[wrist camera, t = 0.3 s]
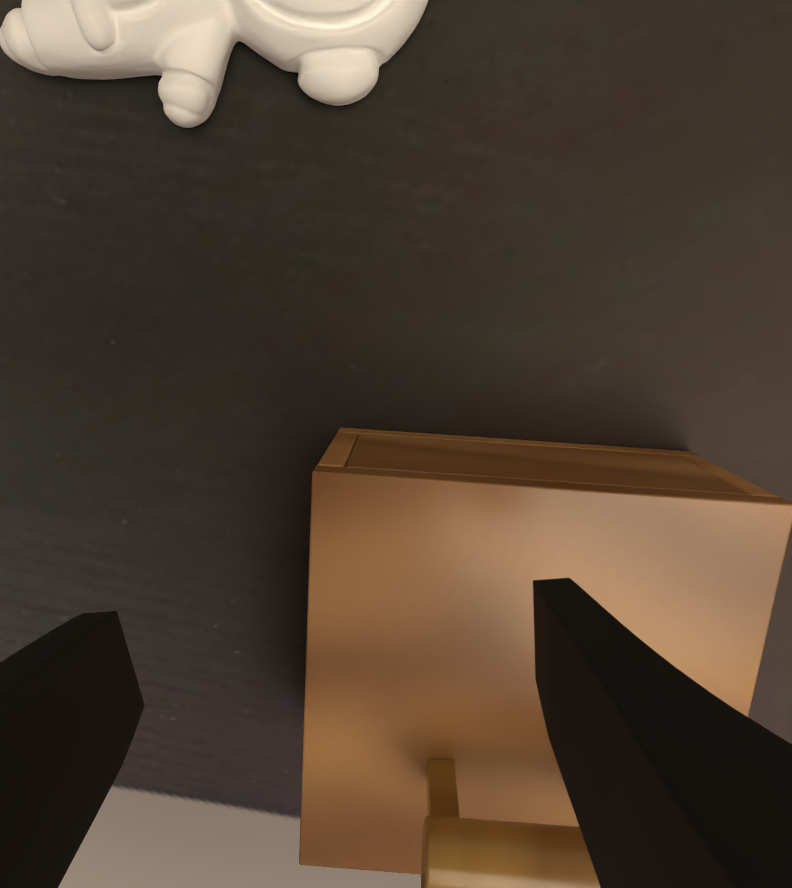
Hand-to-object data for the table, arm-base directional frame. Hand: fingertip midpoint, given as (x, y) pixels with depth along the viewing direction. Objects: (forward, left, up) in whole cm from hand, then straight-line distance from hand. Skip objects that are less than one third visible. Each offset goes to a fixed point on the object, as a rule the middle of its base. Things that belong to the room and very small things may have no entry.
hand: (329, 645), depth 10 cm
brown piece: (-1, -6, -5) cm, 8 cm away
